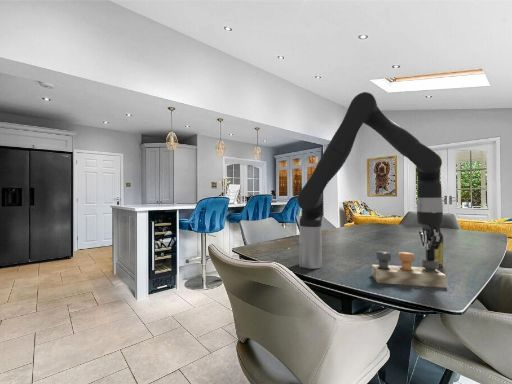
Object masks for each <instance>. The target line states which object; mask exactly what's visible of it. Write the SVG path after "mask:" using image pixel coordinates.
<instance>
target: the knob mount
mask: <svg viewBox="0 0 512 384" xmlns="http://www.w3.org/2000/svg"><path fill="white" fill-rule="evenodd" d="M371 276H372V277H373V279H374V280H375V281H376V282H377V283H378V284H389V285H390V284H391V285H402V284H403V285H404V286H418V287H430V288H431V287H432V288H433V287H435V288H446V289H447V274H445V273H443V272H441V271H440V270H439V269H435V273H432V272H425V268H424V267H422V266H411V271H402V265H390V264H388V270H380V269H379V264H371Z"/></svg>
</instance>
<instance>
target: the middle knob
mask: <svg viewBox="0 0 512 384" xmlns="http://www.w3.org/2000/svg"><path fill="white" fill-rule="evenodd" d="M398 261H401V263H400V264H401V265H400V266H402V271H411V267H412V263H414V262H415V253H413V252H407V251H399V252H398Z"/></svg>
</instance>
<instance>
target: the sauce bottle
mask: <svg viewBox="0 0 512 384" xmlns="http://www.w3.org/2000/svg"><path fill="white" fill-rule="evenodd" d="M437 227H438V231H439V236H442V241H441V243H440V246H439V248H438V249H436V250H435V260H437V261H438V265H439V268H442V267H443V265H444V264H443V263H444V235H443V234H442V232H441V225H438V226H437Z"/></svg>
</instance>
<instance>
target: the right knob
mask: <svg viewBox="0 0 512 384" xmlns="http://www.w3.org/2000/svg"><path fill="white" fill-rule="evenodd" d="M421 267H424V268H425V272H432V273H435V269H437V270H439V268H440V267H439V265H438V261H437V260H434V261H428V260H426V258H422V259H421Z"/></svg>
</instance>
